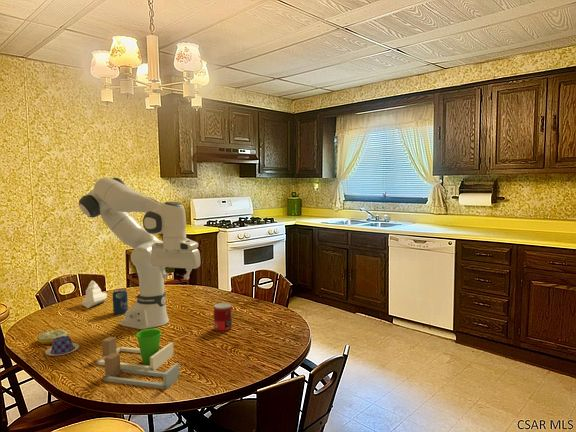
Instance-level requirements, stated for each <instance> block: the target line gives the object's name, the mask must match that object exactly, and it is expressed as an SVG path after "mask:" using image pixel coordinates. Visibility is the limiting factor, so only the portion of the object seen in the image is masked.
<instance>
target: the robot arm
mask: <svg viewBox="0 0 576 432" xmlns="http://www.w3.org/2000/svg"><path fill="white" fill-rule="evenodd" d="M78 206H79V209H80V211H81V212H82V213H83V214H84V215H85V216H86V217H89V218H92V219H93V218H96V217H99V216H100V218H101V219H102V221H103V222H104V223H105V225H106V226H107V227H108V229H109V230H110V231H111V232H112V233H113V234H114V235H115V237H117V238H118V239H119V240H120V241H121V242H122V243H123V244H124V245H126V246H129V247H130V248H132V249H133V250H132V251H131V254H130V261H131V263H132V264H133V266H135V269H136V272H137V277H138V281H139V282H138V284H139V294H138V295H136V296H135V298H134V300H136V302H134V304H132V305H131V306H130V307H128V310H127V311H126V313H125V316H124V318H123V319H122V320H121V321H120V322H119V325H120V326H123V327H127V328H132V329H138V330H146V329H152V328H157V327H161V326H164V325H166V324H167V323H169V322H170V319H169V316H168V311H167V306H166V291H165V279H167V278H168V277H169V272H166V268H173V269H174V268H175V269H185V271H186V273H185V274H183V280H190V274H191V272H192V270H193V269H194V270H195V269H198V268H199V267H201V252H200V250H199V249H198V248H199V242H198V241H195V240H192V239H189V238H187V233H186V226H187V215H186V209H185V207H184V204H182V203H181V202H178V201H165V202H163V203H162V202H160V201H157V200H156V199H154V198H152V197H149V196H147V195H145V194H143V193H140V192H138V191H136V190H134V189H133V188H130V187H129V186H128V185H126V183H125V182H124V181H123V180H122V179H120V178H119V177H113V178H110V177H101V178H98V180H96V181H95V183H94V186H93V189H92V190H91V191H89V192H88V193H87V194H85V195H83V196H82V197H80V198H79V200H78ZM130 213H145V214H144V215H143V218H142V225H143V226H142V225H141V224H140V223H139V222H138V221H137V220H136V219H135V218H134V217H133V216H132V215H131V214H130ZM161 234H162V240H160V239H159V238H158V237H156V236H155V235H161Z"/></svg>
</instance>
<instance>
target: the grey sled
mask: <svg viewBox="0 0 576 432" xmlns="http://www.w3.org/2000/svg"><path fill="white" fill-rule="evenodd" d="M120 354H121V353H117V354H116V353H112V354H110V355H108V356H107V357H105V358H104V361H105V365H104V374H105V376H103V382H110V383H117V384H125V385H131V386H132V385H133V386H140V387H146V388H155V389H162V390H168V389H169V388H170V387H171V386H172V385H173V384H174V383H176V382H177V380H178V379H180V376H181V375H180V363H177V362H176V363H174V364H173V365H172V366H170V367H169V368H168V369H167V370H166V371H165V372H164V371H157V370H155V371H150V370H142V369H134V368H126V367H120V362H121V357H120V356H121V355H120ZM121 373H127V374H134V375H143V376H152V377H159V378H162V382H158V381H149V380H140V379H133V378H127V377H119V375H120V374H121Z"/></svg>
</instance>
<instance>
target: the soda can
mask: <svg viewBox="0 0 576 432" xmlns="http://www.w3.org/2000/svg"><path fill="white" fill-rule="evenodd" d="M128 304H129V303H128V292H127V290H126V288H117V289H114V290H113V292H112V311H113V314H115V315H116V314H117V315H118V316H120V315H124V314H126V311H127V310H128V309H129V305H128Z"/></svg>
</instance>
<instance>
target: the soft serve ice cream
mask: <svg viewBox="0 0 576 432" xmlns="http://www.w3.org/2000/svg"><path fill="white" fill-rule="evenodd" d="M107 297H108V293H106V292H102V289H101V288H100V286H99V285H98V283H96V281H94V280H91V281H90V282H89V283H88V286H87V288H86V289H85V298H84V299H83V300H82V301H81V304H82V306H84V307H85V308H87V309H90V308H92V307H94V306H96V305H99V304H101V303H103V302H105V301H106V299H107Z"/></svg>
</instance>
